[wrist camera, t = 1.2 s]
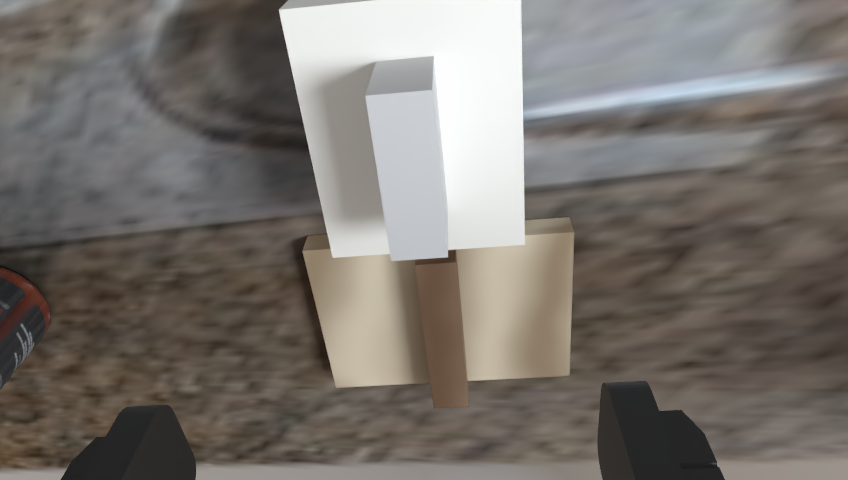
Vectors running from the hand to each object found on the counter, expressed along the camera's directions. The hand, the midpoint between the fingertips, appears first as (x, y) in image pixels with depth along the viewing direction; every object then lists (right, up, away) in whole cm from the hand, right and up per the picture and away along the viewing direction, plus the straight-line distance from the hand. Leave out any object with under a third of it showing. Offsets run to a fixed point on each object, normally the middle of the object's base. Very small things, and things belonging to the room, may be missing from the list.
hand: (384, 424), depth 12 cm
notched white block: (+1, +11, +17) cm, 20 cm away
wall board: (+2, 0, +24) cm, 24 cm away
